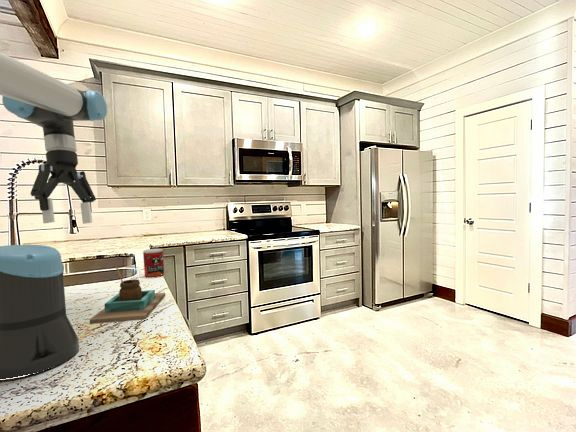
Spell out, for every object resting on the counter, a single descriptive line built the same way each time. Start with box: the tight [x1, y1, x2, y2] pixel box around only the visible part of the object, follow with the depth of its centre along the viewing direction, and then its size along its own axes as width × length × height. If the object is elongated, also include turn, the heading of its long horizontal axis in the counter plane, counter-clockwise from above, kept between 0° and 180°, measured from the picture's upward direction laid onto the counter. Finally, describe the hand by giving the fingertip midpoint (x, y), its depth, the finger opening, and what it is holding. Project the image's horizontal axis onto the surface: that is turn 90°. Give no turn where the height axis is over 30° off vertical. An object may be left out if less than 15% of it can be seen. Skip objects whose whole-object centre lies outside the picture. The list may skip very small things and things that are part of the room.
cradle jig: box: [89, 289, 166, 324], centre depth 92 cm, size 20×14×4 cm
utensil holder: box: [115, 266, 143, 301], centre depth 91 cm, size 6×6×12 cm
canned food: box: [142, 248, 165, 278], centre depth 130 cm, size 8×8×11 cm
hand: (69, 223), depth 90 cm, fingers open, 13 cm apart
